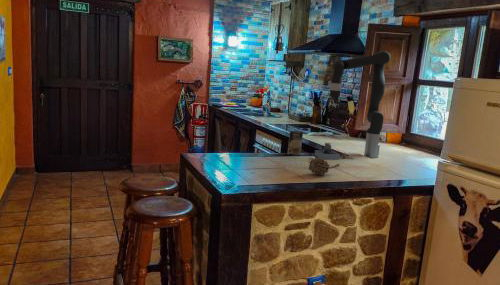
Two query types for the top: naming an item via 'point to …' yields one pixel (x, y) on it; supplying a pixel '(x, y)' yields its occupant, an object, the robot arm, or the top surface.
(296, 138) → the coffee box
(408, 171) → the top surface
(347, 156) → the stud base
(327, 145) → the metal strut
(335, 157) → the slate bin
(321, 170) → the pine cone
